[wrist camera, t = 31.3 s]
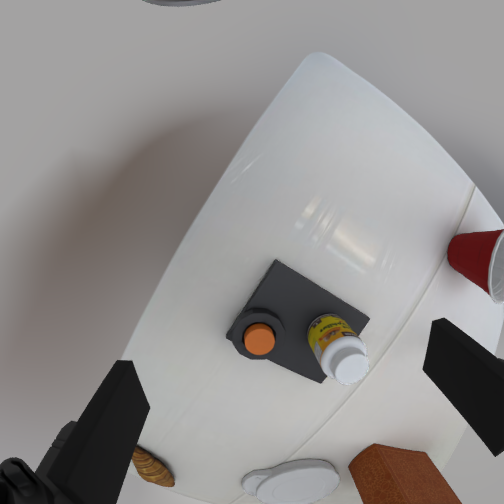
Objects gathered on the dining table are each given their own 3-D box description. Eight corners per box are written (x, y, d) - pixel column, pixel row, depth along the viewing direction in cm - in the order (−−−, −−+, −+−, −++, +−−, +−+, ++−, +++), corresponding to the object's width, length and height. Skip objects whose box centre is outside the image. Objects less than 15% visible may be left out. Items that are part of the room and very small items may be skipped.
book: (425, 452, 46) (478, 527, 16) (403, 473, 47) (448, 549, 17) (371, 442, 43) (430, 552, 13) (344, 466, 44) (388, 574, 14)
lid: (249, 456, 41) (250, 468, 38) (348, 454, 43) (353, 464, 40) (236, 497, 44) (236, 507, 41) (321, 495, 46) (323, 504, 43)
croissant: (187, 478, 42) (184, 496, 37) (160, 482, 42) (157, 498, 37) (148, 440, 40) (142, 459, 35) (121, 444, 40) (114, 462, 35)
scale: (223, 334, 37) (222, 345, 34) (273, 258, 36) (277, 262, 33) (318, 380, 39) (323, 391, 36) (366, 315, 38) (375, 323, 35)
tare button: (238, 340, 34) (239, 347, 33) (254, 318, 34) (255, 323, 32) (263, 352, 35) (264, 359, 33) (278, 331, 34) (280, 337, 33)
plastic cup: (464, 291, 39) (511, 312, 27) (428, 272, 37) (480, 294, 26) (483, 233, 37) (532, 243, 25) (449, 208, 36) (504, 212, 24)
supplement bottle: (346, 310, 36) (380, 343, 26) (342, 346, 37) (372, 386, 27) (306, 313, 36) (330, 351, 26) (304, 351, 37) (325, 394, 27)
